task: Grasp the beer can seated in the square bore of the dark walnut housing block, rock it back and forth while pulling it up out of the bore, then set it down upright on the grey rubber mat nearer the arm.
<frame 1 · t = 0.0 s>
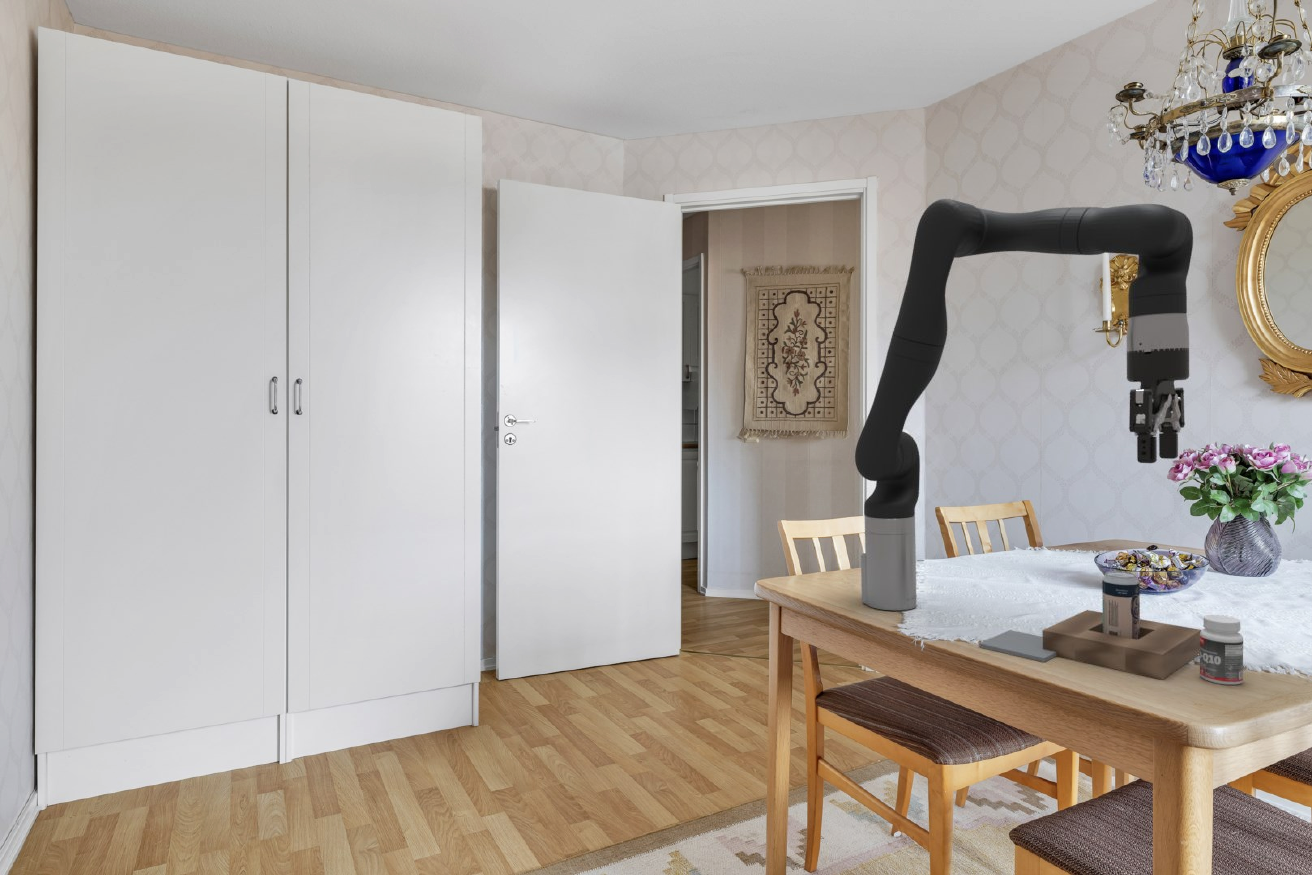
hand: (1157, 460, 111), 29 cm above the table, fingers open, 8 cm apart
pill bottle: (1221, 680, 104), on the table
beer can: (1121, 654, 116), resting in housing
housing: (1121, 652, 116), on the table
mat: (1026, 647, 120), on the table
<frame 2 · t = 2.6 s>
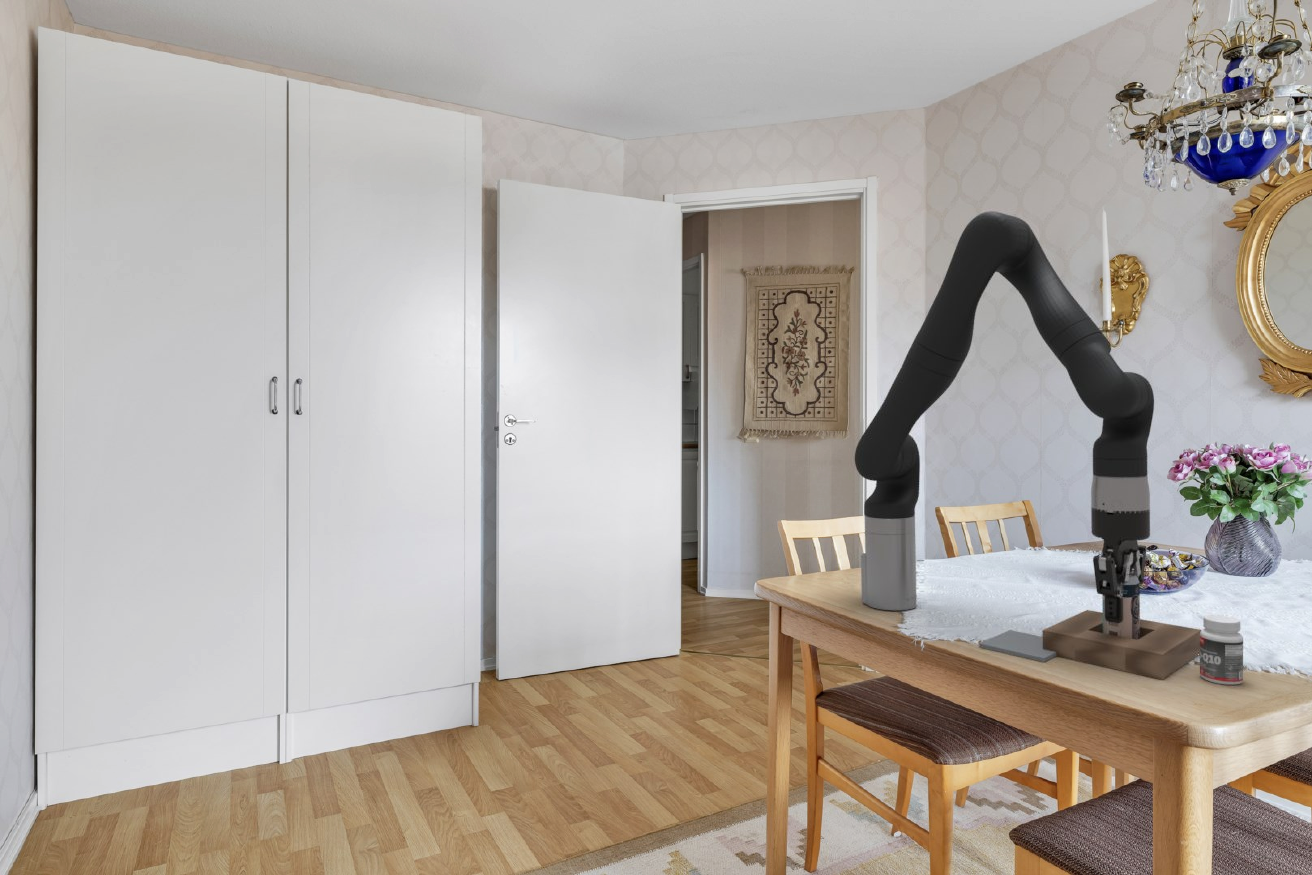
hand: (1121, 617, 116), 5 cm above the table, fingers closed on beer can, 4 cm apart
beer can: (1121, 654, 116), resting in housing, touching gripper
everything else where it was.
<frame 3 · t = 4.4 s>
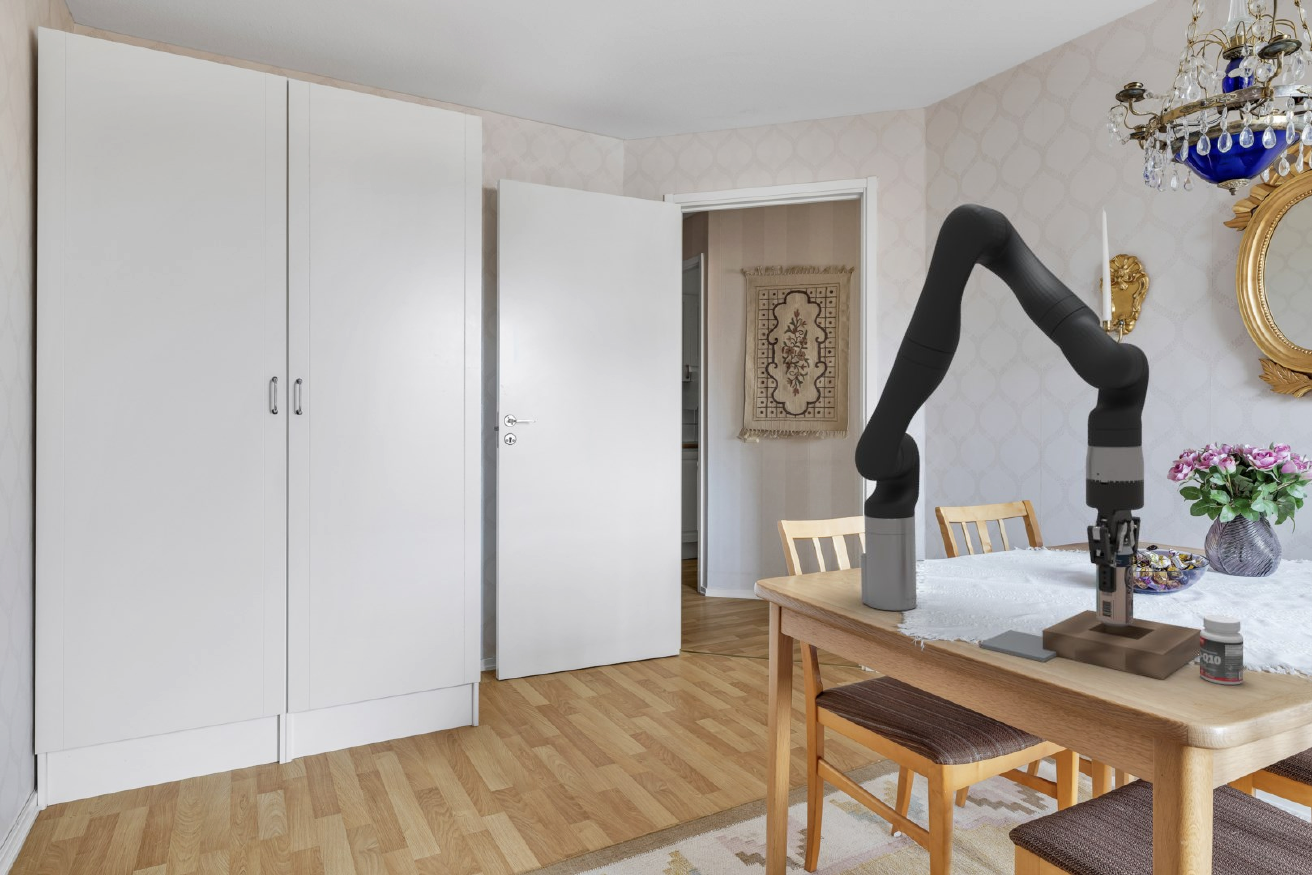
hand: (1114, 587, 116), 10 cm above the table, fingers closed on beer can, 4 cm apart
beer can: (1114, 624, 116), point 4 cm above the table, touching gripper
everything else where it was.
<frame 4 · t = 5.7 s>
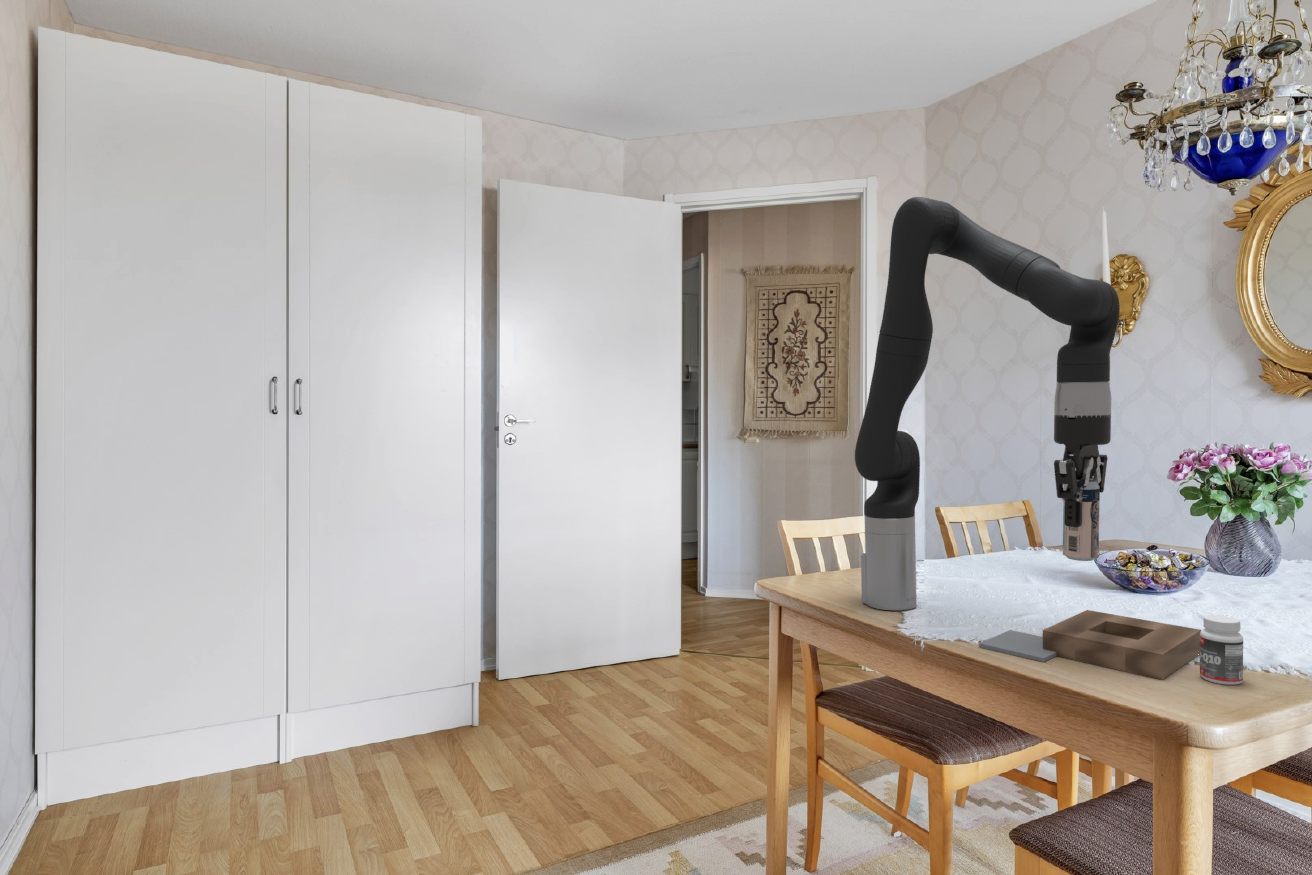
hand: (1080, 523, 117), 19 cm above the table, fingers closed on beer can, 4 cm apart
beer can: (1080, 559, 118), point 14 cm above the table, touching gripper
everything else where it was.
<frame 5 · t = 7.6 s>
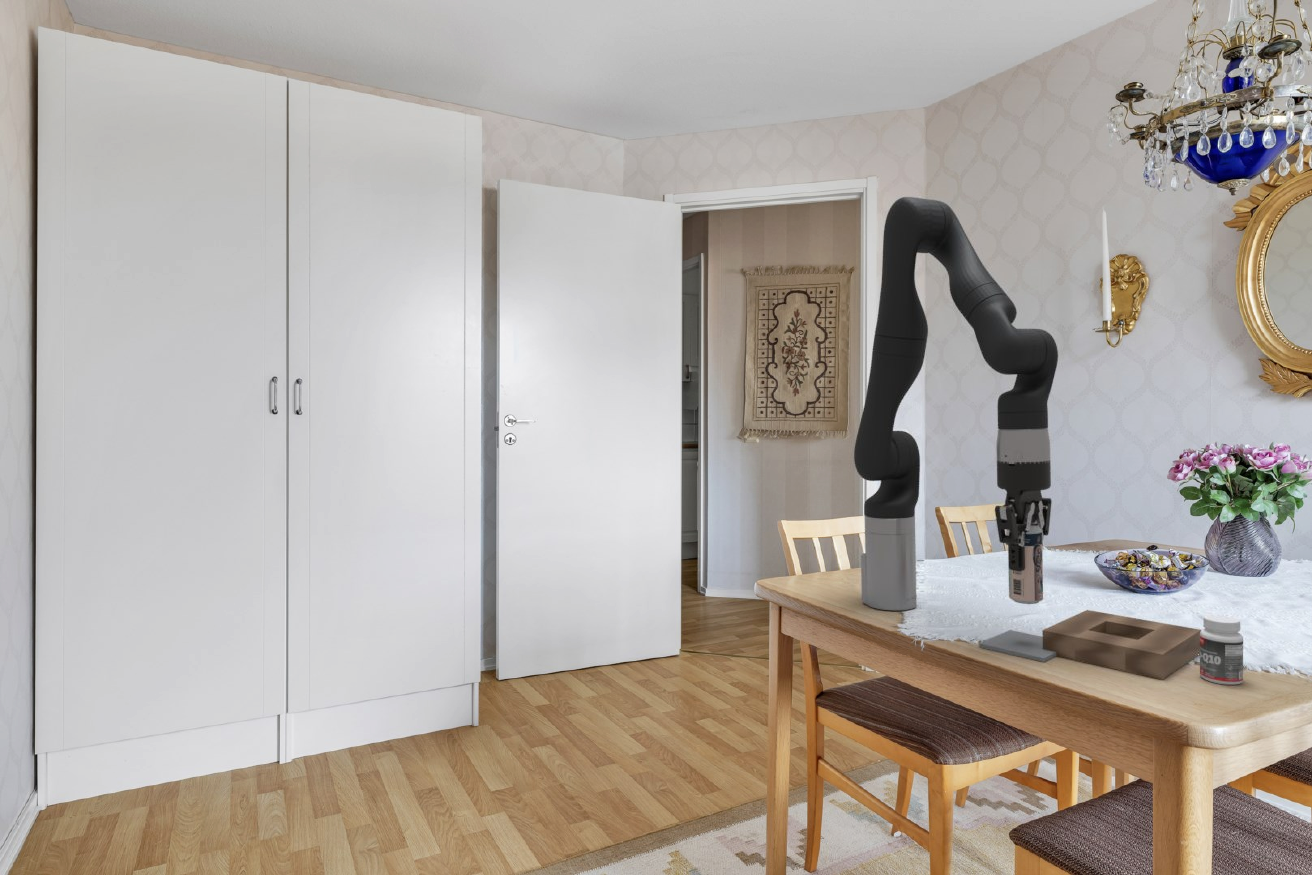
hand: (1025, 566, 120), 13 cm above the table, fingers closed on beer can, 4 cm apart
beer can: (1025, 602, 120), point 7 cm above the table, touching gripper
everything else where it was.
when the fingers open (7 cm above the table, at t = 9.0 s): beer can drops 1 cm, resting on mat.
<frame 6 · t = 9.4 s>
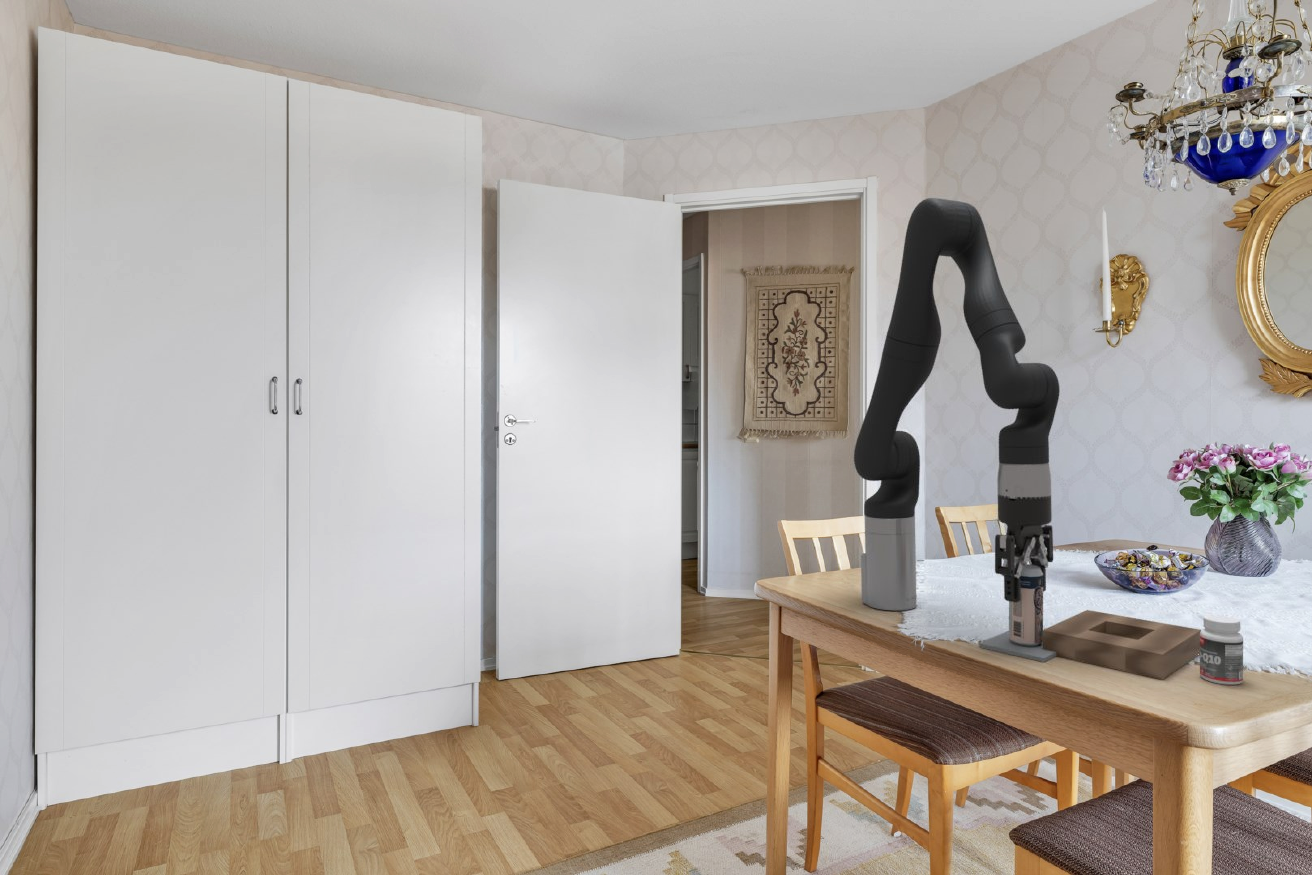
hand: (1025, 596, 120), 8 cm above the table, fingers open, 8 cm apart
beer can: (1025, 643, 120), resting on mat
everything else where it was.
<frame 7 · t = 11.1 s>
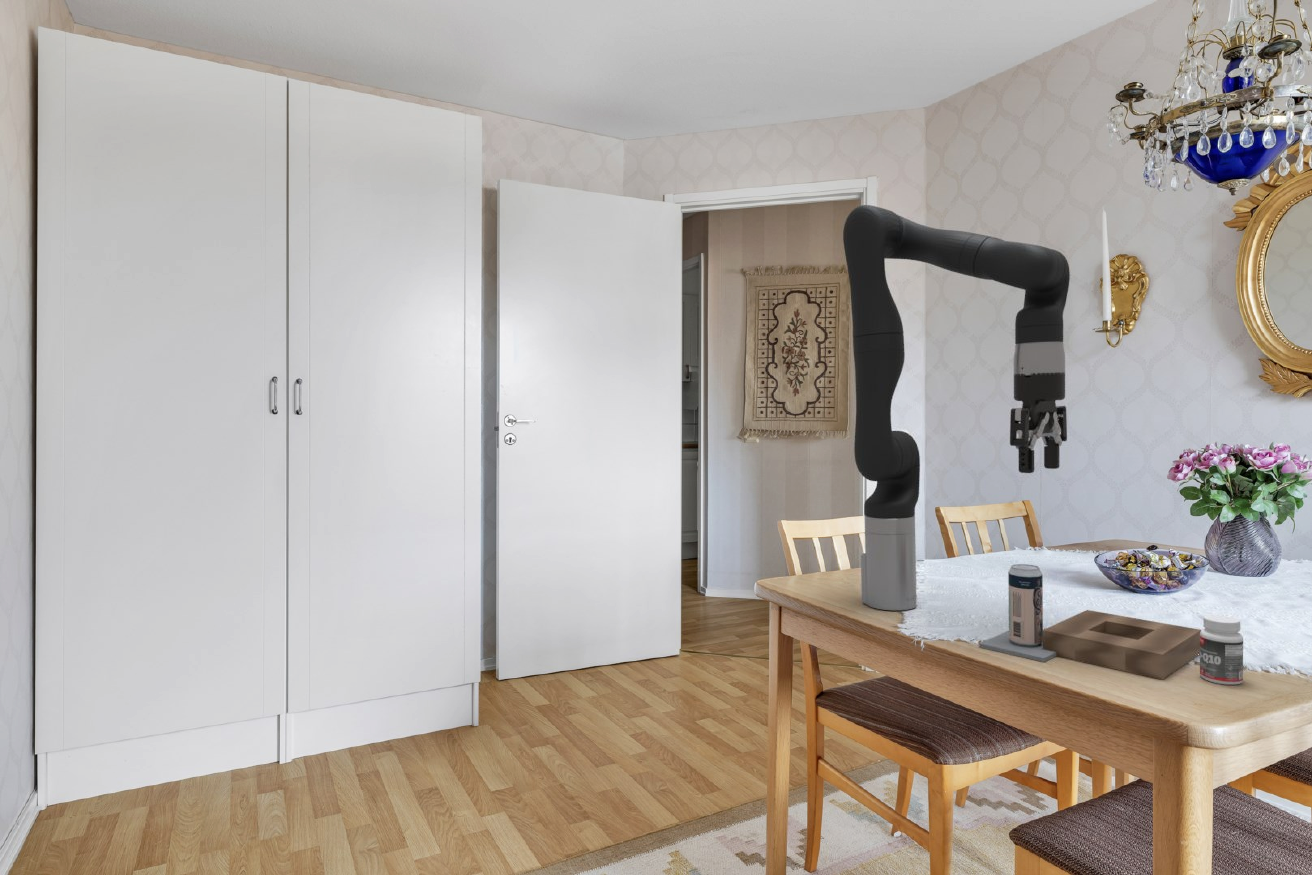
hand: (1039, 470, 126), 27 cm above the table, fingers open, 8 cm apart
nothing on the table moved.
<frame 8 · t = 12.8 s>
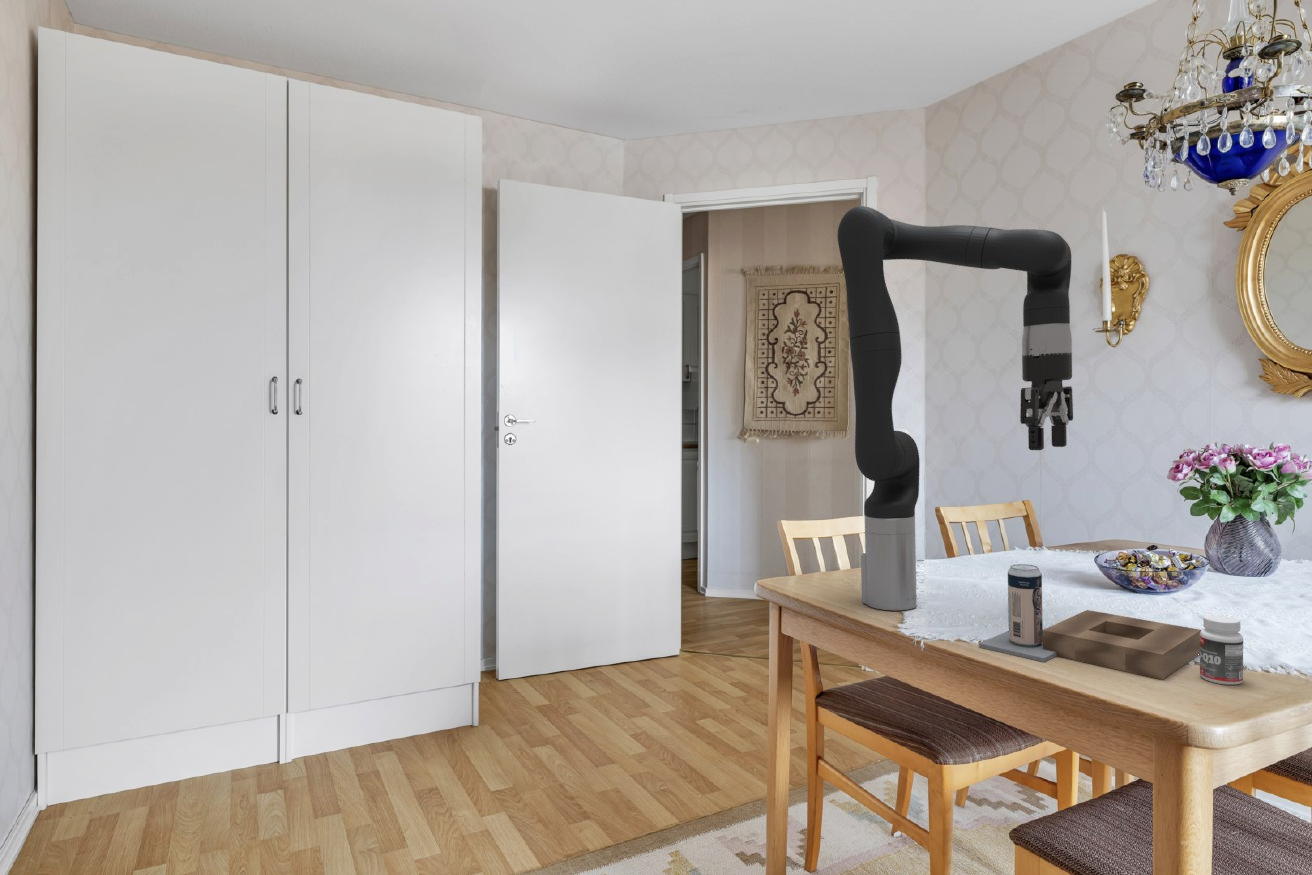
hand: (1047, 448, 131), 30 cm above the table, fingers open, 8 cm apart
nothing on the table moved.
at the end: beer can inside the target area on the mat (0.1 cm from its centre), point 0.4 cm above the mat's base; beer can tilted 0°; the gripper is holding nothing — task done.
